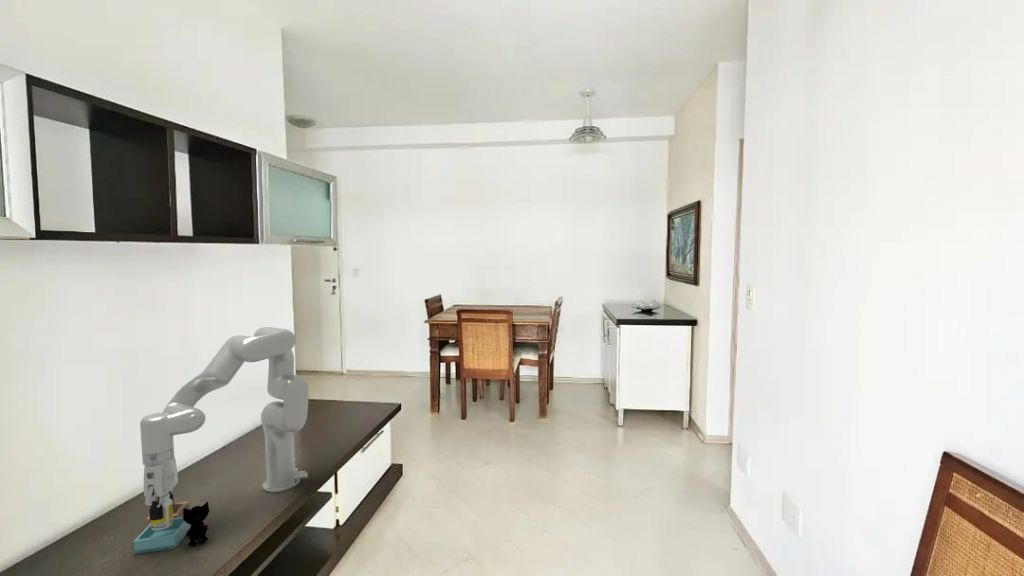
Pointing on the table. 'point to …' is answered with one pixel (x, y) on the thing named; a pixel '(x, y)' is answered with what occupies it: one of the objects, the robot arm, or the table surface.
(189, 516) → the cat figurine
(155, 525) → the supplement bottle
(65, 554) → the table surface
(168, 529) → the tray
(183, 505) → the hollow wooden block
